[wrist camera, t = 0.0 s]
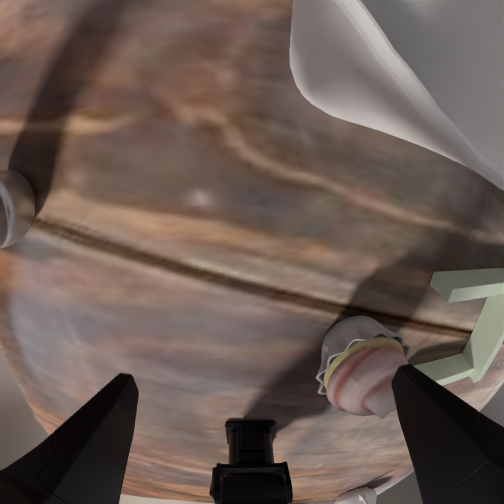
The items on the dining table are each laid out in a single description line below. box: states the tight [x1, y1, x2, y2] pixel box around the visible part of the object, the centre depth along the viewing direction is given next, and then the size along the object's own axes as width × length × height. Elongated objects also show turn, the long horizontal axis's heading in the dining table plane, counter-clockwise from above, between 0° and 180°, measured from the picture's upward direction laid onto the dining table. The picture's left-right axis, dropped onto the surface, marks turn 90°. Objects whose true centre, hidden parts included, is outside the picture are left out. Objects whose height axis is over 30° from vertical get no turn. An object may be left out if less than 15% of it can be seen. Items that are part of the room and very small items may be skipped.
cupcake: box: [316, 315, 411, 419], centre depth 22 cm, size 9×9×10 cm
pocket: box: [414, 268, 504, 386], centre depth 25 cm, size 15×14×5 cm
